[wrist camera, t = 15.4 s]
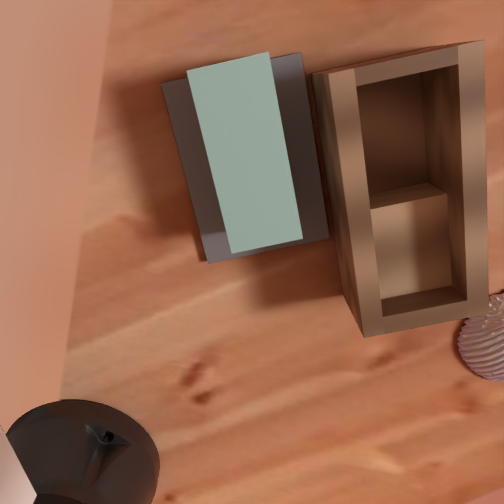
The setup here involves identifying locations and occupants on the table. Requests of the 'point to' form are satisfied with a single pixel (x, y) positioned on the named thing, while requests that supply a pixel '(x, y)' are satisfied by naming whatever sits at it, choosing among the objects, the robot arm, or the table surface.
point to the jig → (408, 184)
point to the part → (246, 151)
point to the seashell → (485, 341)
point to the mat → (298, 149)
